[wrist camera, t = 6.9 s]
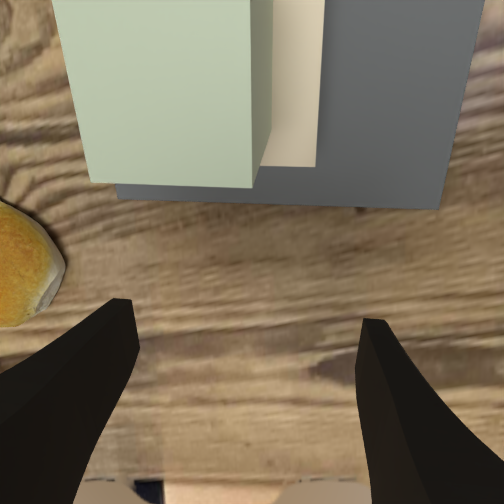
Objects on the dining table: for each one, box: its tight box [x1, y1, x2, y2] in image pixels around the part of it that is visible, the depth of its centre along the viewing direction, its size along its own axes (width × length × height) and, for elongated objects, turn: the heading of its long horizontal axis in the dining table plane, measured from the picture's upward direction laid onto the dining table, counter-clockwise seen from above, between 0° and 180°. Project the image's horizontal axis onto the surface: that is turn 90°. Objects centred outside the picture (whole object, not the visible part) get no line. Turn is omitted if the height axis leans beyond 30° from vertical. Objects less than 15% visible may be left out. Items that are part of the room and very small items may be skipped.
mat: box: [115, 0, 485, 210], centre depth 18 cm, size 16×14×1 cm
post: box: [52, 0, 273, 188], centre depth 13 cm, size 4×4×6 cm
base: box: [260, 0, 325, 167], centre depth 17 cm, size 8×8×3 cm
